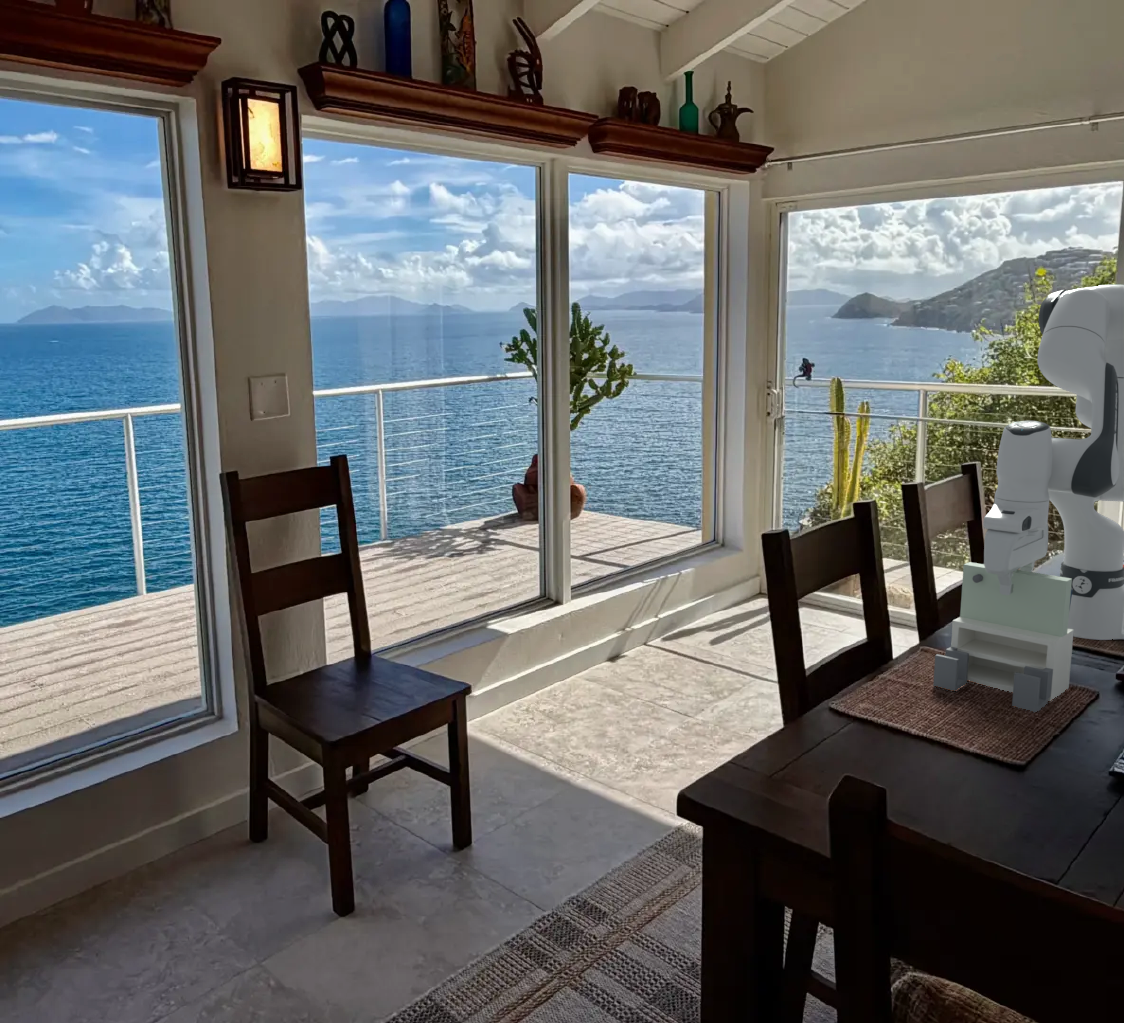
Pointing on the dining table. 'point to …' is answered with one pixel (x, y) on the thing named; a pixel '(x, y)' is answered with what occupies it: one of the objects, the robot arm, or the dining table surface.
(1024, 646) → the cabinet
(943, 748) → the dining table surface
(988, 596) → the door
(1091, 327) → the robot arm
